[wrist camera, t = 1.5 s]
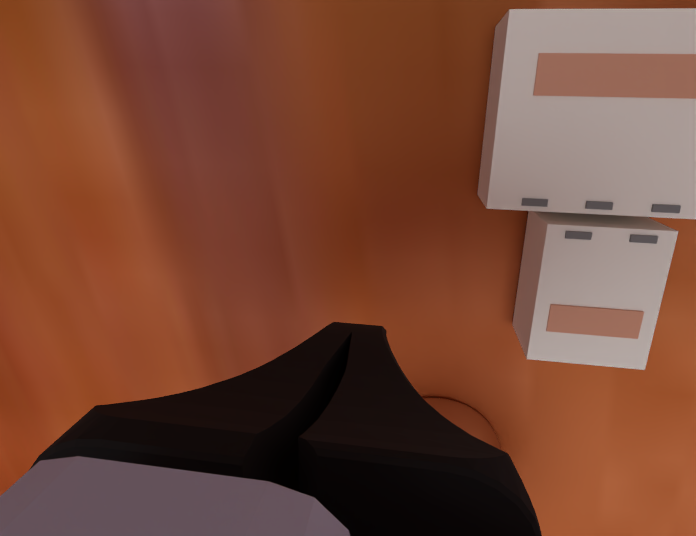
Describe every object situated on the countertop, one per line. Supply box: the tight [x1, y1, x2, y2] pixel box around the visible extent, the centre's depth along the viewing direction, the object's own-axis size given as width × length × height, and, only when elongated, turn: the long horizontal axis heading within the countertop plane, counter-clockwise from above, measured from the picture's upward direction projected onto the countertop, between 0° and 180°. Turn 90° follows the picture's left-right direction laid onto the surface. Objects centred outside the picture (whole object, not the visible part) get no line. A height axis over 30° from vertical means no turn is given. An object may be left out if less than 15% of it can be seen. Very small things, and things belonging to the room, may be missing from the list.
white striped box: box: [477, 8, 696, 219], centre depth 16 cm, size 13×6×3 cm, turn 89°
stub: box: [512, 211, 678, 370], centre depth 18 cm, size 4×5×3 cm
